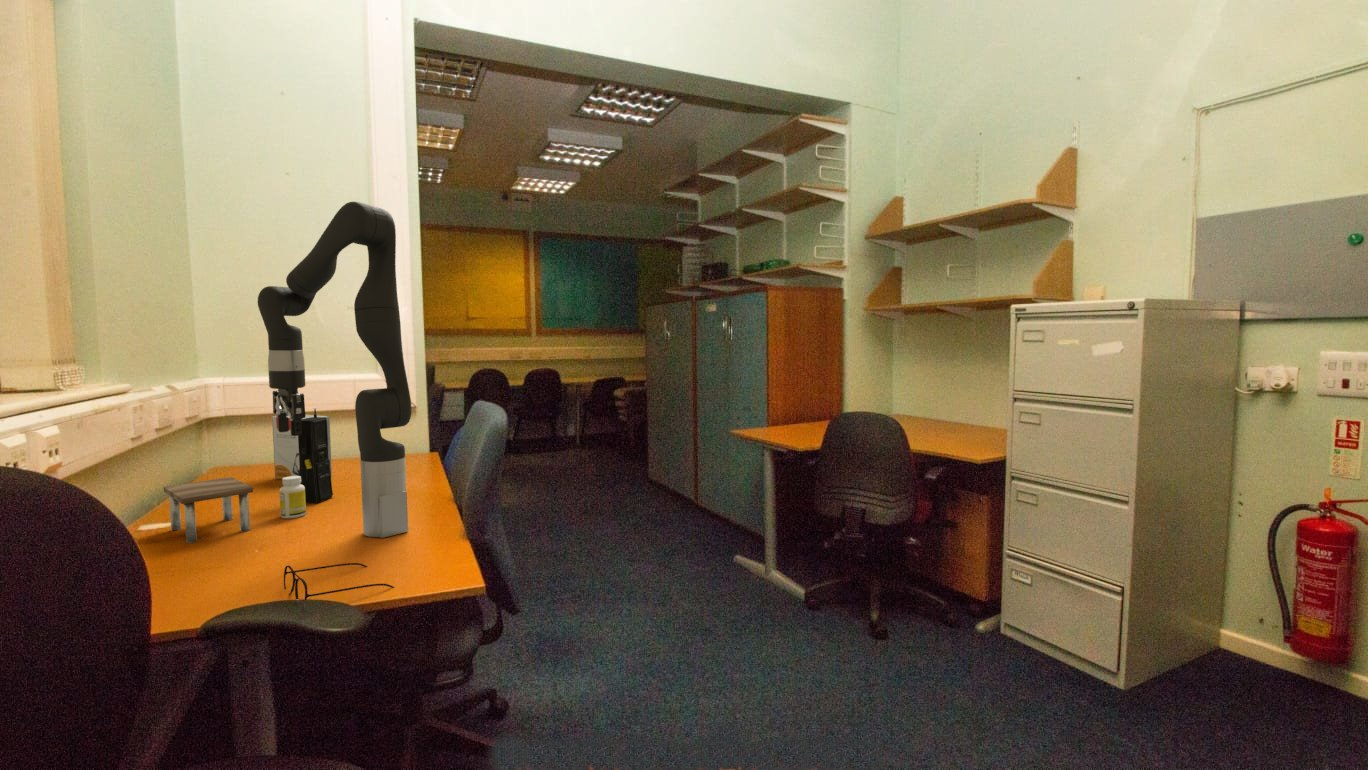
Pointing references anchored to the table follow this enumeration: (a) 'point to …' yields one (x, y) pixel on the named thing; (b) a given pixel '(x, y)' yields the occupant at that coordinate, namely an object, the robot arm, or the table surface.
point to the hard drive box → (290, 450)
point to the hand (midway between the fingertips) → (289, 433)
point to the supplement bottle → (292, 498)
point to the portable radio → (315, 459)
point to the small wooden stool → (206, 492)
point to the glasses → (323, 592)
